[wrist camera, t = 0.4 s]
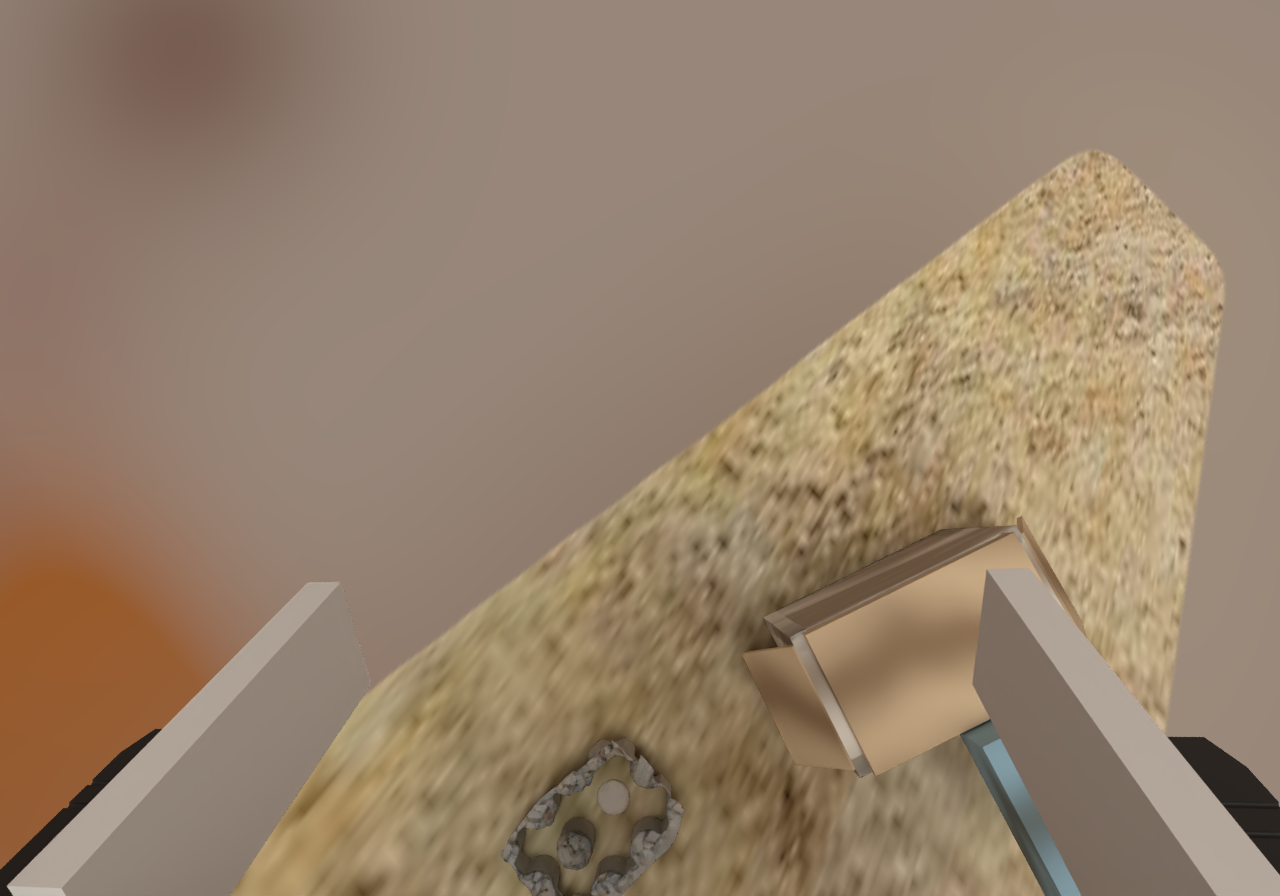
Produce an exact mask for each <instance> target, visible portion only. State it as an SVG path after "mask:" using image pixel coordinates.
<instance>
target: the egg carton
mask: <svg viewBox="0 0 1280 896" xmlns="http://www.w3.org/2000/svg"><path fill="white" fill-rule="evenodd" d="M589 752H590V753H589V760H590V761H588V762H587V764H586V765H584V766H583V767H581V768H580V769H579V770H578V771H576V772H575V771H573V772H571V773H570V774H569V775H568V774H567V775H566V776H565V777H564V778H563V779H562V781H561V782H560V783H559V784H558V786H556V787H554V788H553V789H552V790H550V791H549V792H548V793H547V794H545V795H544V796H543V797H542V798H541V799H540V800H539V801H538V802H537V803H536V804H535V805H534V807H533V808H532V809H531V811H530V812H529V813H528V814H527V816H526V817H525V818H524V819H523V821H522V822H521V823H520V825H519V826H518V828H517V829H516V831H515V832H514V833H513V834H512V835H511V836H510V837H509V840H508V843H507V844H506V846H505V847H504V849H503V850H502V851H501V856H502V858H503V859H504V861H505V862H509V863H510V865H511V866H512V867H513V868H514V870H515V871H516V873H517V876H518V879H519V880H520V882H521V883H523V884H524V885H525V886H526V887H527V888H528V889H529V891H530V892H531V894H532V896H563V894H562V893H561V892H560V891H559V890H558V888H557V885H558V882H559V878H560V867H559V865H558V863H557V861H556V860H555V859H554V858H552V857H551V856H547V855H540V856H537V857H535V858H534V859H532V860H531V859H529V858H528V857H527V855H526V854H525V853H524V852H523V851H522V850H521V848H522V846H523V844H524V841H525V836H526V833H525V829H524V826H525V828H526V829H527V828H532V829H536V830H538V829H540V828H544V827H547V826H551V825H552V823H553V822H554V818H555V815H556V813H557V810H558V807H559V804H560V800H561V797H560V794H562V795H567V796H570V795H571V794H572V793H573V792H579V791H583V789H584V787H585V786H590V784H591V781H592V778H593V772H595V771H596V770H597V769H598V768H600V767H601V766H602V765H603V764H604V763H605V762H607V761H608V760H609V759H611V758H613V757H615V756H618V755H619V756H622V757H624V758H626V759H627V760H629V761H631V764H630V772H631V776H632V778H633V781H634V782H635V783H636V784H637V785H639V786H641V787H644V788H648V789H649V788H654V787H656V786H663V787H665V789H666V790H667V791H668V792H667V805H666V812H667V817H666V818H665V819H664V820H663V821H660V820H659V819H657V818H655V817H645V818H642V819H640V820H639V821H638V822H637V823H636V824H635V827H634V829H633V834H632V841H631V845H630V855H631V857H630V858H629V859H628V860H625V859H624V858H622V857H620V856H616V855H611V856H607V857H606V858H604V859H603V860H602V861H601V862H600V864H599V865H598V868H597V873H596V877H595V881H594V883H593V886H592V890H591V894H592V896H621V895H622V894H623V893H624V892H625V891H626V890H627V889H628V887H629V886H630V885H631V884H632V883H633V882H634V881H635V880H636V879H637V878H638V877H639V876H641V875H642V874H643V873H644V871H645V870H646V869H647V868H648V867H649V866H650V865H651V864H652V863H654V862H655V861H656V860H657V859H658V858H659V857H660V856H661V855H662V854H663V853H665V852H666V851H667V850H668V849H669V848H670V846H671V845H672V844H673V842H674V841H675V839H676V837H677V834H678V831H679V827H680V823H681V819H682V815H683V812H684V810H683V808H682V806H681V804H680V803H678V802H677V801H675V800H674V799H672V798H671V784H670V783H669V782H668V781H667V779H666V778H665V777H664V775H662V774H659V775H657V776H655V777H654V776H653V773H654V769H653V768H652V767H651V766H650V764H649V763H648V762H647V761H646V759H645V758H644V757H643V756H642V755H640V758H638V759H637V758H636V757H635V756H634V753H635V746H634V745H633V744H632V743H631V742H630V741H629V739H628V738H626V737H624V738H623V739H621V740H618V741H613V740H611V741H607V740H605V739H601V740H599V741H598V742H597V743H596V744H595V745H594V746H593V747H592V748H591V749H590V750H589ZM597 802H598V805H599V807H600V808H601V810H602V811H604V812H605V813H607V814H610V815H618V814H620V813H622V812H623V811H625V810H626V809H627V807H628V805H629V803H630V792H629V789H628V787H627V786H626V785H625V784H624V783H623V782H621V781H618V780H614V779H613V780H608V781H606V782H605V783H603V784H602V785H601V787H600V788H599V790H598V793H597ZM594 843H595V829H594V827H593V825H592V823H591V822H590V821H588V820H587V819H585V818H583V817H576V818H573V819H570V820H569V821H568V822H567V823H566V824H565V826H564V827H563V829H562V832H561V835H560V838H559V840H558V842H557V854H558V856H559V859H560V861H561V862H562V864H563V866H564V867H565V868H569V869H574V870H579V869H582V868H584V867H586V866H587V865H588V863H589V860H590V857H591V855H592V852H593V848H594ZM571 896H586V895H584V894H579V893H578V894H573V895H571Z"/></svg>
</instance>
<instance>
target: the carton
mask: <svg viewBox="0 0 1280 896" xmlns="http://www.w3.org/2000/svg"><path fill="white" fill-rule="evenodd" d="M1008 532H1015V534H1016V536H1017V538H1018V540H1019V541H1020V543H1021V545H1022V547H1023V548H1024V550H1025V552H1026V554H1027V555H1028V557H1029V559H1030V561H1031V562H1032V564H1033V566H1034V568H1035V569H1036V571H1037V573H1038V575H1039V577H1040V578H1041V580H1042V582H1043V584H1044V585H1045V587H1046V589H1047V590H1048V592H1049V593H1050V594H1051V595H1052V596H1053V598H1054V599H1055V600H1056V601H1057V603H1058V604H1059V605H1060V606H1061V607H1062V609H1063V610H1064V611H1065V612H1066V614H1067V615H1068V616H1069V617H1070V618H1071V620H1072V621H1073V622H1074V623H1075V625H1076V626H1077V627H1078V628H1079V630H1080V631H1081V632H1082V633H1083V634H1084V636H1085V637H1086V638H1087V636H1086V633H1085V630H1084V626H1083V623H1082V621H1081V619H1080V617H1079V615H1078V614H1077V612H1076V610H1075V608H1074V607H1073V605H1072V603H1071V601H1070V600H1069V598H1068V596H1067V594H1066V593H1065V591H1064V589H1063V587H1062V586H1061V584H1060V582H1059V580H1058V579H1057V577H1056V575H1055V573H1054V572H1053V570H1052V568H1051V566H1050V565H1049V563H1048V561H1047V559H1046V558H1045V556H1044V554H1043V552H1042V551H1041V549H1040V547H1039V545H1038V544H1037V542H1036V540H1035V538H1034V537H1033V535H1032V533H1031V531H1030V530H1029V528H1028V526H1027V524H1026V523H1025V521H1024V519H1023V517H1022V516H1021V517H1018V518H1017V526H1016V525H1014V526H997V527H979V528H961V529H944V530H940V531H938V532H936V533H933V534H931V535H929V536H927V537H925V538H923V539H921V540H919V541H917V542H915V543H913V544H911V545H909V546H907V547H905V548H903V549H901V550H899V551H897V552H895V553H893V554H891V555H889V556H887V557H885V558H883V559H881V560H879V561H877V562H874V563H872V564H870V565H868V566H866V567H864V568H862V569H860V570H858V571H856V572H854V573H852V574H850V575H848V576H846V577H844V578H842V579H840V580H838V581H836V582H834V583H832V584H830V585H828V586H826V587H824V588H822V589H820V590H818V591H815V592H813V593H811V594H809V595H807V596H805V597H803V598H801V599H799V600H797V601H795V602H793V603H791V604H789V605H787V606H785V607H783V608H781V609H779V610H777V611H775V612H773V613H771V614H769V615H767V616H765V617H763V619H764V621H765V623H766V625H767V627H768V629H769V631H770V633H771V635H772V637H773V639H774V641H775V643H776V645H777V647H775V648H768V649H761V650H755V651H748V652H744V653H743V654H742V656H743V658H744V660H745V662H746V664H747V666H748V668H749V670H750V672H751V674H752V676H753V679H754V681H755V683H756V685H757V687H758V689H759V691H760V693H761V695H762V697H763V699H764V701H765V703H766V705H767V707H768V709H769V711H770V714H771V716H772V718H773V720H774V722H775V724H776V726H777V728H778V730H779V732H780V734H781V736H782V738H783V740H784V742H785V744H786V746H787V748H788V751H789V753H790V755H791V757H792V759H793V761H794V763H795V765H803V766H813V767H823V768H833V769H843V770H853V771H854V772H855V773H856V774H857V775H858V776H859V778H861V777H863V776H865V775H867V774H869V773H871V772H872V771H871V769H870V767H869V765H868V763H867V761H866V759H865V757H864V755H863V753H862V751H861V749H860V747H859V745H858V743H857V741H856V739H855V737H854V735H853V733H852V731H851V729H850V727H849V725H848V723H847V721H846V719H845V717H844V715H843V713H842V711H841V709H840V707H839V705H838V704H837V702H836V700H835V698H834V696H833V694H832V692H831V690H830V688H829V686H828V684H827V682H826V680H825V678H824V676H823V674H822V672H821V670H820V668H819V666H818V664H817V662H816V660H815V658H814V656H813V654H812V652H811V650H810V648H809V646H808V644H807V642H806V640H805V638H804V636H803V634H802V633H804V632H806V631H808V630H810V629H812V628H814V627H816V626H818V625H820V624H822V623H824V622H826V621H828V620H830V619H832V618H835V617H837V616H839V615H841V614H843V613H845V612H847V611H849V610H851V609H853V608H855V607H857V606H859V605H861V604H863V603H865V602H867V601H869V600H871V599H873V598H875V597H877V596H879V595H881V594H883V593H885V592H887V591H889V590H891V589H893V588H895V587H897V586H899V585H901V584H903V583H905V582H908V581H910V580H912V579H914V578H916V577H918V576H920V575H922V574H924V573H926V572H928V571H930V570H932V569H934V568H936V567H938V566H940V565H942V564H944V563H946V562H948V561H950V560H952V559H954V558H956V557H958V556H960V555H962V554H964V553H966V552H968V551H970V550H972V549H974V548H976V547H978V546H981V545H983V544H985V543H987V542H989V541H991V540H993V539H995V538H997V537H999V536H1001V535H1003V534H1005V533H1008Z"/></svg>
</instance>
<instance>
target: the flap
mask: <svg viewBox="0 0 1280 896" xmlns="http://www.w3.org/2000/svg"><path fill="white" fill-rule="evenodd" d="M1012 568H1030V569H1031V571H1032V572H1033V573H1034V574H1035V576H1036V577H1037V578H1038V579H1039V580H1040V582H1041V583H1042V584H1043V582H1042V580H1041V578H1040V577H1039V575H1038V573H1037V571H1036V569H1035V568H1034V566H1033V564H1032V562H1031V561H1030V559H1029V557H1028V555H1027V554H1026V552H1025V550H1024V548H1023V547H1022V545H1021V543H1020V541H1019V540H1018V538H1017V536H1016V534H1015V532H1008V533H1005V534H1003V535H1001V536H999V537H997V538H995V539H993V540H991V541H989V542H987V543H985V544H983V545H981V546H978V547H976V548H974V549H972V550H970V551H968V552H966V553H964V554H962V555H960V556H958V557H956V558H954V559H952V560H950V561H948V562H946V563H944V564H942V565H940V566H938V567H936V568H934V569H932V570H930V571H928V572H926V573H924V574H922V575H920V576H918V577H916V578H914V579H912V580H910V581H908V582H905V583H903V584H901V585H899V586H897V587H895V588H893V589H891V590H889V591H887V592H885V593H883V594H881V595H879V596H877V597H875V598H873V599H871V600H869V601H867V602H865V603H863V604H861V605H859V606H857V607H855V608H853V609H851V610H849V611H847V612H845V613H843V614H841V615H839V616H837V617H835V618H832V619H830V620H828V621H826V622H824V623H822V624H820V625H818V626H816V627H814V628H812V629H810V630H808V631H806V632H804V633H802V634H803V636H804V638H805V640H806V642H807V644H808V646H809V648H810V650H811V652H812V654H813V656H814V658H815V660H816V662H817V664H818V666H819V668H820V670H821V672H822V674H823V676H824V678H825V680H826V682H827V684H828V686H829V688H830V690H831V692H832V694H833V696H834V698H835V700H836V702H837V704H838V705H839V707H840V709H841V711H842V713H843V715H844V717H845V719H846V721H847V723H848V725H849V727H850V729H851V731H852V733H853V735H854V737H855V739H856V741H857V743H858V745H859V747H860V749H861V751H862V753H863V755H864V757H865V759H866V761H867V763H868V765H869V767H870V769H871V771H872V772H873V773H874V774H875V775H876V776H878V775H880V774H882V773H884V772H886V771H888V770H890V769H892V768H894V767H896V766H898V765H900V764H902V763H904V762H906V761H908V760H910V759H912V758H914V757H916V756H918V755H920V754H922V753H924V752H926V751H928V750H930V749H932V748H934V747H936V746H938V745H940V744H942V743H944V742H946V741H948V740H950V739H952V738H954V737H956V736H958V735H959V734H960V735H961V737H962V739H963V741H964V743H965V745H966V747H967V748H968V750H969V752H970V754H971V756H972V758H973V760H974V762H975V764H976V765H977V767H978V769H979V771H980V773H981V775H982V777H983V779H984V781H985V783H986V784H987V786H988V788H989V790H990V792H991V794H992V796H993V798H994V800H995V801H996V803H997V805H998V807H999V809H1000V811H1001V813H1002V815H1003V817H1004V819H1005V820H1006V822H1007V824H1008V826H1009V828H1010V830H1011V832H1012V834H1013V836H1014V837H1015V839H1016V841H1017V843H1018V845H1019V847H1020V849H1021V851H1022V853H1023V854H1024V856H1025V858H1026V860H1027V862H1028V864H1029V866H1030V868H1031V870H1032V872H1033V873H1034V875H1035V877H1036V879H1037V881H1038V883H1039V885H1040V887H1041V889H1042V890H1043V892H1044V894H1045V896H1081V894H1080V892H1079V890H1078V888H1077V886H1076V884H1075V882H1074V880H1073V878H1072V876H1071V874H1070V872H1069V870H1068V869H1067V867H1066V865H1065V863H1064V861H1063V859H1062V857H1061V855H1060V853H1059V851H1058V849H1057V847H1056V845H1055V843H1054V841H1053V839H1052V838H1051V836H1050V834H1049V832H1048V830H1047V828H1046V826H1045V824H1044V822H1043V820H1042V818H1041V816H1040V814H1039V812H1038V810H1037V808H1036V807H1035V805H1034V803H1033V801H1032V799H1031V797H1030V795H1029V793H1028V791H1027V789H1026V787H1025V785H1024V783H1023V781H1022V779H1021V777H1020V776H1019V774H1018V772H1017V770H1016V768H1015V766H1014V764H1013V762H1012V760H1011V758H1010V756H1009V754H1008V752H1007V750H1006V748H1005V746H1004V745H1003V743H1002V741H1001V739H1000V737H999V735H998V733H997V731H996V729H995V727H994V725H993V723H992V721H991V719H990V717H989V715H988V714H987V712H986V710H985V708H984V706H983V704H982V702H981V700H980V698H979V696H978V694H977V692H976V690H975V688H974V686H973V684H972V682H973V674H974V666H975V658H976V650H977V642H978V634H979V626H980V618H981V610H982V602H983V594H984V586H985V578H986V570H987V569H1012ZM1043 585H1044V584H1043ZM1044 587H1045V585H1044ZM1045 588H1046V587H1045Z"/></svg>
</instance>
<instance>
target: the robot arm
mask: <svg viewBox="0 0 1280 896" xmlns="http://www.w3.org/2000/svg"><path fill="white" fill-rule="evenodd" d="M371 684H372V683H371V680H370V677H369V674H368V670H367V667H366V663H365V660H364V657H363V653H362V650H361V647H360V643H359V640H358V637H357V634H356V630H355V627H354V623H353V620H352V617H351V613H350V611H349V607H348V604H347V600H346V597H345V594H344V590H343V587H342V583H341V582H313V583H312V582H311V583H307V584H306V585H305V586H304V587H303V588H302V589H301V590H300V591H299V592H298V593H297V594H296V595H295V596H294V597H293V598H292V599H291V600H290V601H289V602H288V603H287V604H286V605H285V606H284V607H283V608H282V609H281V610H280V611H279V612H278V613H277V614H276V615H275V616H274V617H273V618H272V619H271V620H270V621H269V622H268V623H267V624H266V625H265V626H264V628H262V630H260V631H259V632H258V633H257V635H255V636H254V638H252V639H251V640H250V641H249V643H247V644H246V645H245V647H243V648H242V650H241V651H240V652H239V653H238V654H237V655H236V656H235V657H234V658H233V659H232V660H231V661H230V662H229V663H228V664H227V665H226V666H225V667H224V668H223V669H222V670H221V671H220V672H219V673H218V674H217V675H216V676H215V677H214V678H213V679H212V680H211V681H210V682H209V683H208V684H207V685H206V686H205V687H204V688H203V689H202V690H201V691H200V692H199V693H198V694H197V695H196V696H195V697H194V698H193V699H192V700H191V701H190V702H189V703H188V704H187V705H186V706H185V707H184V708H183V709H182V710H181V711H180V712H179V713H178V714H177V715H176V716H175V717H174V718H173V719H172V720H171V721H170V722H169V723H168V724H167V725H166V726H165V727H164V728H163V729H155V730H153V731H152V732H150V733H149V734H147V735H146V736H144V737H143V738H141V739H140V740H139V741H137V742H135V743H134V744H132V745H131V746H130V747H128V748H126V749H125V750H124V751H122V752H121V753H120V754H119V755H118V756H117V757H116V758H114V759H113V760H112V761H111V762H110V763H109V764H108V765H107V766H106V767H105V768H104V769H103V770H102V771H101V772H100V773H99V774H98V775H97V776H96V777H95V778H94V779H93V783H92V784H91V785H87V786H86V787H85V788H84V789H83V790H82V791H81V792H80V793H79V794H78V795H77V796H76V797H75V798H74V799H72V800H71V801H70V802H69V803H70V804H69V807H68V808H63V809H62V810H61V811H60V812H59V813H58V814H57V815H56V816H55V817H54V818H53V819H52V820H51V821H50V822H49V823H48V824H47V825H46V826H45V827H44V828H43V829H42V830H41V831H40V832H39V833H38V834H37V835H35V836H34V837H33V838H32V840H30V841H29V843H27V844H26V845H25V846H24V847H23V848H22V849H21V850H20V851H19V852H18V853H17V854H16V855H15V856H14V857H13V858H12V859H11V860H10V861H9V862H8V863H7V864H6V865H5V866H4V867H3V868H2V869H1V870H0V896H230V895H231V893H232V892H233V890H234V889H235V887H236V886H237V884H238V883H239V881H240V880H241V878H242V877H243V875H244V874H245V872H246V871H247V869H248V868H249V866H250V865H251V863H252V862H253V860H254V859H255V857H256V856H257V854H258V853H259V851H260V850H261V848H262V847H263V845H264V844H265V842H266V841H267V839H268V838H269V836H270V835H271V833H272V832H273V830H274V829H275V827H276V826H277V824H278V823H279V821H280V820H281V818H282V817H283V815H284V814H285V812H286V811H287V809H288V808H289V806H290V805H291V803H292V802H293V800H294V799H295V797H296V796H297V794H298V793H299V791H300V790H301V788H302V787H303V785H304V784H305V782H306V781H307V779H308V778H309V776H310V775H311V773H312V772H313V770H314V769H315V767H316V766H317V764H318V763H319V761H320V760H321V758H322V757H323V756H324V754H325V753H326V751H327V750H328V748H329V747H330V745H331V744H332V742H333V741H334V739H335V738H336V736H337V735H338V733H339V732H340V730H341V729H342V727H343V726H344V724H345V723H346V721H347V720H348V718H349V717H350V715H351V714H352V712H353V711H354V709H355V708H356V706H357V705H358V703H359V702H360V700H361V699H362V697H363V696H364V694H365V693H366V691H367V690H368V688H369V686H370V685H371ZM972 684H973V686H974V688H975V690H976V692H977V694H978V696H979V698H980V700H981V702H982V704H983V706H984V708H985V710H986V712H987V714H988V715H989V717H990V719H991V721H992V723H993V725H994V727H995V729H996V731H997V733H998V735H999V737H1000V739H1001V741H1002V743H1003V745H1004V746H1005V748H1006V750H1007V752H1008V754H1009V756H1010V758H1011V760H1012V762H1013V764H1014V766H1015V768H1016V770H1017V772H1018V774H1019V776H1020V777H1021V779H1022V781H1023V783H1024V785H1025V787H1026V789H1027V791H1028V793H1029V795H1030V797H1031V799H1032V801H1033V803H1034V805H1035V807H1036V808H1037V810H1038V812H1039V814H1040V816H1041V818H1042V820H1043V822H1044V824H1045V826H1046V828H1047V830H1048V832H1049V834H1050V836H1051V838H1052V839H1053V841H1054V843H1055V845H1056V847H1057V849H1058V851H1059V853H1060V855H1061V857H1062V859H1063V861H1064V863H1065V865H1066V867H1067V869H1068V870H1069V872H1070V874H1071V876H1072V878H1073V880H1074V882H1075V884H1076V886H1077V888H1078V890H1079V892H1080V894H1081V896H1280V807H1279V805H1278V803H1279V802H1278V801H1277V800H1276V799H1275V798H1274V797H1273V796H1272V794H1271V793H1270V792H1269V791H1268V790H1267V789H1266V788H1265V787H1264V786H1263V784H1262V783H1261V782H1260V781H1259V780H1258V779H1257V778H1256V777H1255V776H1254V775H1253V773H1251V771H1250V770H1249V769H1248V768H1247V767H1246V766H1244V765H1243V764H1242V763H1240V762H1239V761H1237V760H1236V759H1234V758H1233V757H1232V756H1230V755H1229V754H1227V753H1226V752H1224V751H1223V750H1222V749H1220V748H1219V747H1217V746H1216V745H1214V744H1213V743H1212V742H1210V741H1208V740H1207V739H1206V738H1204V737H1167V736H1166V735H1165V734H1164V733H1163V731H1162V730H1161V729H1160V728H1159V726H1158V725H1157V724H1156V723H1155V722H1154V720H1153V719H1152V718H1151V717H1150V715H1149V714H1148V713H1147V712H1146V710H1145V709H1144V708H1143V707H1142V706H1141V704H1140V703H1139V702H1138V701H1137V699H1136V698H1135V697H1134V696H1133V695H1132V693H1131V692H1130V691H1129V690H1128V688H1127V687H1126V686H1125V685H1124V684H1123V682H1122V681H1121V680H1120V679H1119V677H1118V676H1117V675H1116V674H1115V672H1114V671H1113V670H1112V669H1111V668H1110V666H1109V665H1108V664H1107V663H1106V661H1105V660H1104V659H1103V658H1102V657H1101V655H1100V654H1099V653H1098V652H1097V650H1096V649H1095V648H1094V647H1093V645H1092V644H1091V643H1090V642H1089V641H1088V639H1087V638H1086V637H1085V636H1084V634H1083V633H1082V632H1081V631H1080V630H1079V628H1078V627H1077V626H1076V625H1075V623H1074V622H1073V621H1072V620H1071V618H1070V617H1069V616H1068V615H1067V614H1066V612H1065V611H1064V610H1063V609H1062V607H1061V606H1060V605H1059V604H1058V603H1057V601H1056V600H1055V599H1054V598H1053V596H1052V595H1051V594H1050V593H1049V592H1048V590H1047V589H1046V588H1045V587H1044V585H1043V584H1042V583H1041V582H1040V580H1039V579H1038V578H1037V577H1036V576H1035V574H1034V573H1033V572H1032V571H1031V569H1030V568H1012V569H987V570H986V578H985V586H984V594H983V602H982V610H981V618H980V626H979V634H978V642H977V650H976V658H975V666H974V674H973V682H972Z"/></svg>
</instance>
